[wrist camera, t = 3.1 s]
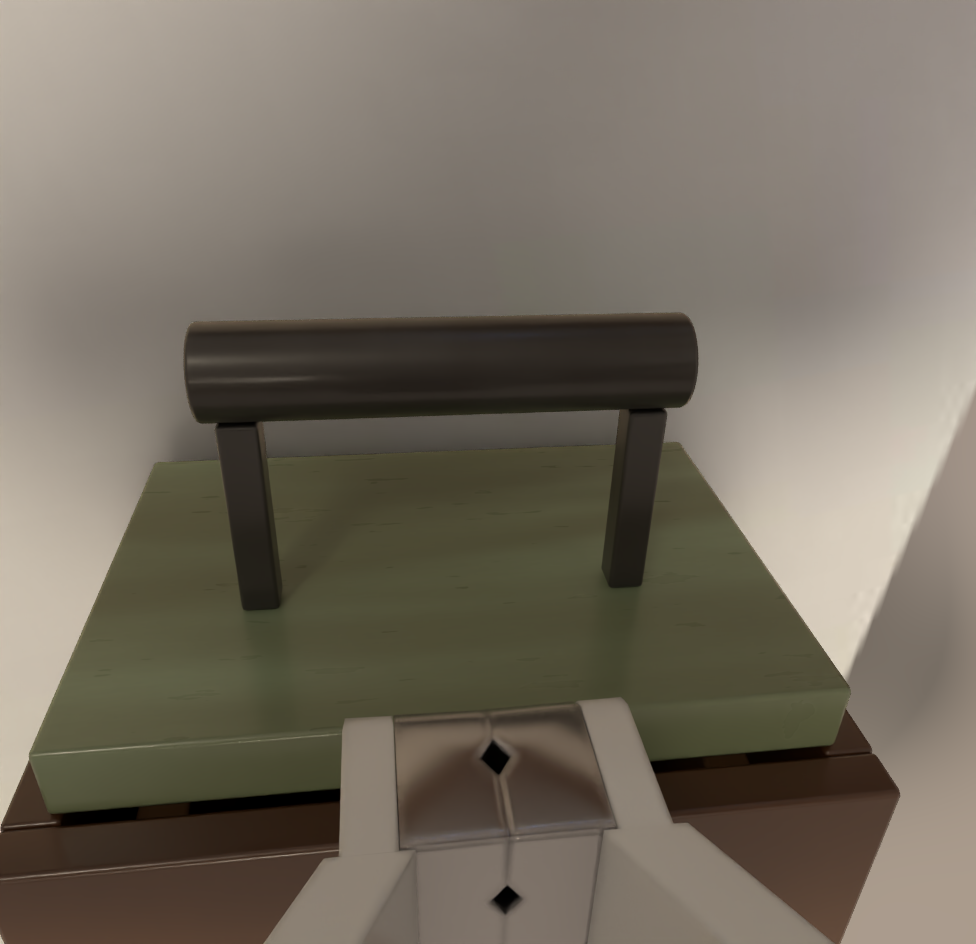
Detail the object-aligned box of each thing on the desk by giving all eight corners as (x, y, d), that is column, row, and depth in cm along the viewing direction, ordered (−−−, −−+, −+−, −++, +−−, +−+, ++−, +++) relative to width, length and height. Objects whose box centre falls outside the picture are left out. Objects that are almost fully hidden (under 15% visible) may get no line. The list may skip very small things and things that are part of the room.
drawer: (108, 233, 15) (-93, 431, 8) (713, 229, 16) (953, 396, 10) (235, 867, 24) (186, 1204, 17) (617, 829, 26) (708, 1128, 19)
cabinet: (143, 488, 19) (-28, 883, 10) (684, 465, 20) (904, 793, 12) (228, 889, 26) (166, 1308, 18) (621, 849, 28) (731, 1217, 19)
